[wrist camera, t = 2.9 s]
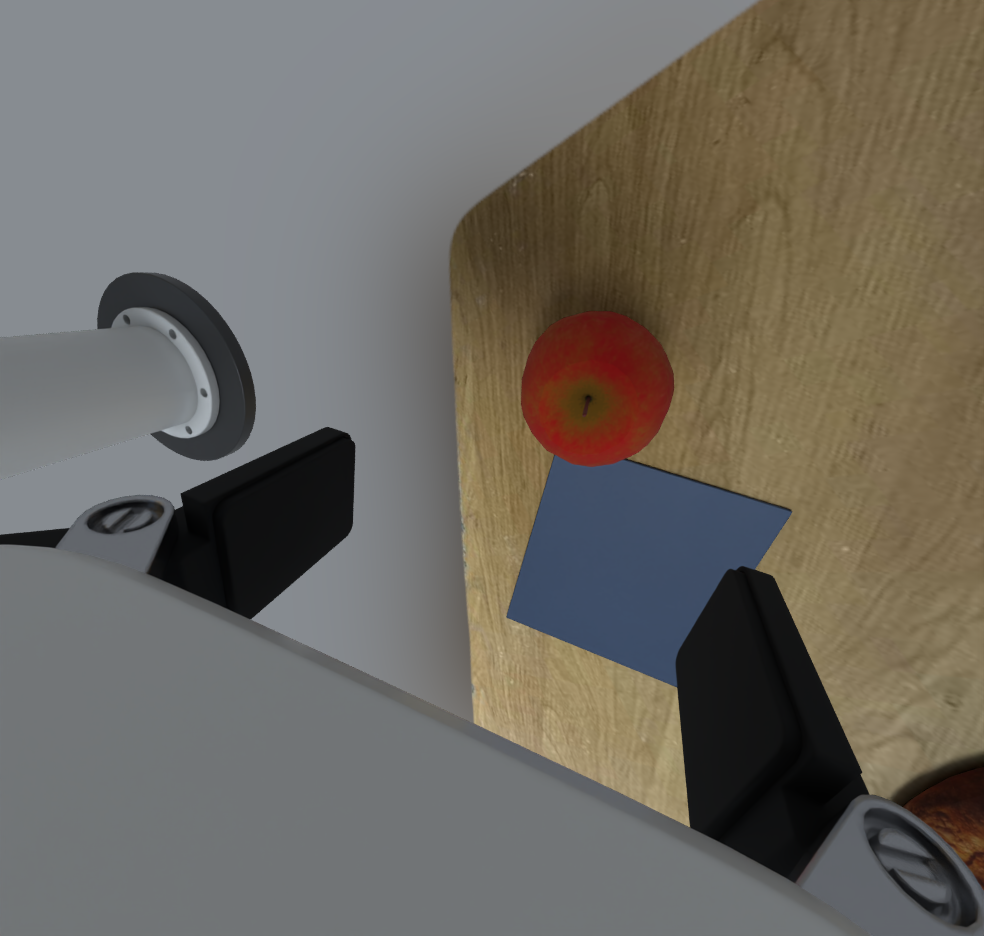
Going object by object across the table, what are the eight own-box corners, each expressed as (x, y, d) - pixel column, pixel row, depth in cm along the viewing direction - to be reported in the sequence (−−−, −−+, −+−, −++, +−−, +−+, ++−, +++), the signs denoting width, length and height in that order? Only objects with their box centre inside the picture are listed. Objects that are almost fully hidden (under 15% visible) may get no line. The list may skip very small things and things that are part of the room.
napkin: (506, 615, 41) (506, 617, 41) (559, 438, 32) (559, 440, 32) (677, 684, 38) (677, 687, 38) (791, 510, 29) (792, 512, 28)
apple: (530, 325, 29) (479, 346, 20) (655, 286, 26) (664, 289, 17) (559, 436, 32) (525, 499, 23) (676, 414, 29) (693, 477, 19)
